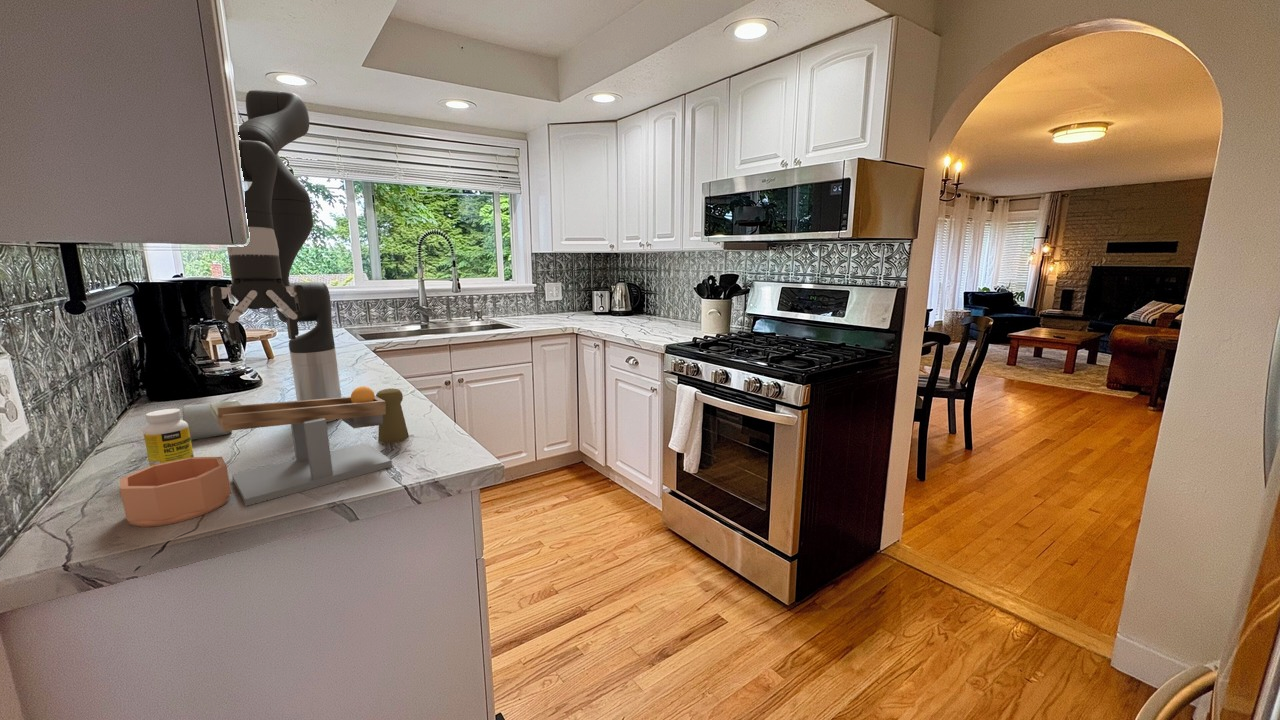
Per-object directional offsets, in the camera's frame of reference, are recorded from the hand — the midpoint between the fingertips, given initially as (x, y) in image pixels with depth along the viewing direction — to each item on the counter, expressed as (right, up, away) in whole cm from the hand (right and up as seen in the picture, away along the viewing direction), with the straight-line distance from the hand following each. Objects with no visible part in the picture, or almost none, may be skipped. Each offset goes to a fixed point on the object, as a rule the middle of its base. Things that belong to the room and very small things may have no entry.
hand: (265, 341), depth 96 cm
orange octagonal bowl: (-1, -27, -16) cm, 31 cm away
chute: (+8, -15, -2) cm, 17 cm away
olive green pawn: (+17, -21, +14) cm, 31 cm away
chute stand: (+12, -24, -4) cm, 27 cm away
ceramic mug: (-26, -21, +18) cm, 38 cm away
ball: (+18, -11, 0) cm, 21 cm away
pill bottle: (-17, -24, -1) cm, 29 cm away
